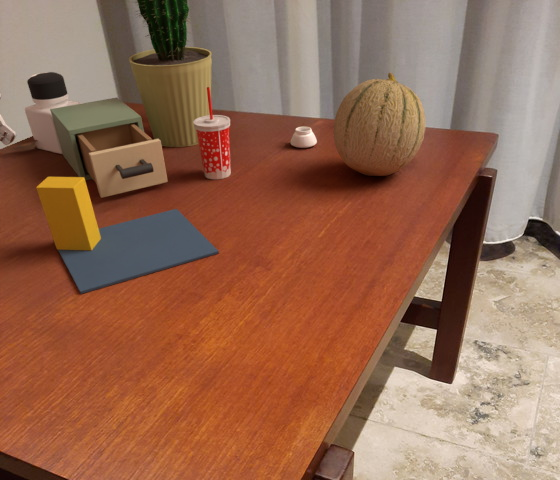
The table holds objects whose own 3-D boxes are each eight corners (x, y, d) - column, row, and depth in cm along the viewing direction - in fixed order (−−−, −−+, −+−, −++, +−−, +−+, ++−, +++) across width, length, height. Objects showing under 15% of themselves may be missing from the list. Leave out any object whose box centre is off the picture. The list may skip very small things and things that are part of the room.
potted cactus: (201, 120, 120) (180, -53, 101) (233, 140, 110) (216, -49, 90) (133, 134, 115) (97, -46, 95) (160, 156, 105) (126, -41, 85)
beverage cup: (227, 165, 100) (219, 80, 91) (240, 176, 96) (233, 88, 87) (195, 171, 98) (183, 85, 89) (207, 183, 94) (196, 94, 85)
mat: (80, 294, 69) (80, 291, 69) (53, 242, 80) (53, 240, 80) (219, 253, 76) (218, 250, 76) (177, 210, 86) (176, 208, 86)
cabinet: (150, 166, 101) (141, 116, 96) (82, 181, 97) (68, 130, 91) (126, 143, 111) (117, 97, 105) (63, 156, 107) (49, 109, 101)
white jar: (298, 139, 109) (285, 147, 106) (298, 123, 107) (285, 131, 104) (321, 142, 107) (308, 151, 104) (321, 126, 105) (308, 134, 102)
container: (92, 142, 112) (74, 71, 104) (62, 155, 107) (40, 81, 99) (66, 137, 115) (46, 67, 107) (36, 148, 111) (13, 77, 102)
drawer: (176, 190, 90) (170, 148, 86) (108, 207, 86) (97, 163, 82) (142, 157, 102) (134, 119, 98) (81, 171, 98) (70, 131, 94)
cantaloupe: (324, 186, 91) (326, 88, 82) (340, 155, 102) (344, 64, 92) (415, 193, 88) (428, 91, 78) (422, 160, 99) (435, 66, 89)
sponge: (91, 250, 77) (73, 188, 71) (56, 249, 77) (35, 187, 72) (101, 238, 80) (84, 177, 74) (67, 237, 80) (47, 176, 74)
